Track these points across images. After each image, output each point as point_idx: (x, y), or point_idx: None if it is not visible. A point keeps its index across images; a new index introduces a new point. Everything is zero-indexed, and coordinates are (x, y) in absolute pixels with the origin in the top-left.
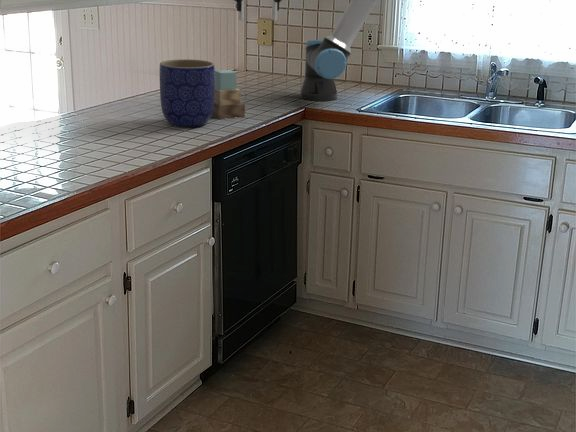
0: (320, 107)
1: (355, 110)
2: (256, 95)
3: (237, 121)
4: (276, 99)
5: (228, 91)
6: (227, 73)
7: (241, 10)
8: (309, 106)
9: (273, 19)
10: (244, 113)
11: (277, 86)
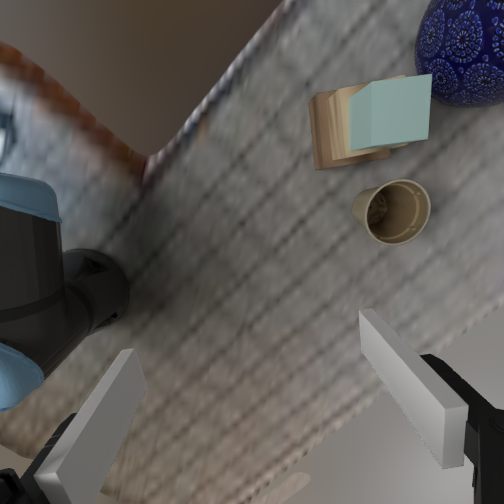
0: (103, 182)
1: (19, 133)
2: (220, 325)
3: (339, 55)
4: (187, 282)
5: (377, 80)
6: (405, 78)
7: (413, 354)
8: (127, 198)
9: (140, 368)
10: (311, 100)
11: (155, 403)
